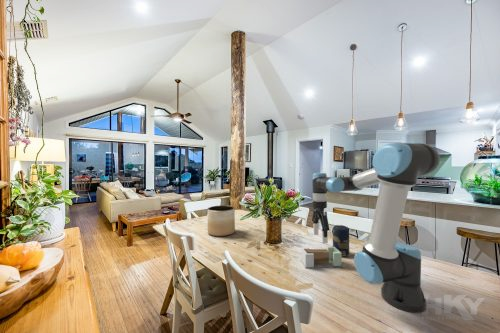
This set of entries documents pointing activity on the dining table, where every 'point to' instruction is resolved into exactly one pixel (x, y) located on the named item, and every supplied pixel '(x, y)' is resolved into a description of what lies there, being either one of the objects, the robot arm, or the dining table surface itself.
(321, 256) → the block
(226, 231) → the planter
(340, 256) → the end cap
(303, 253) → the endcap base
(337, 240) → the canister
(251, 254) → the dining table surface
